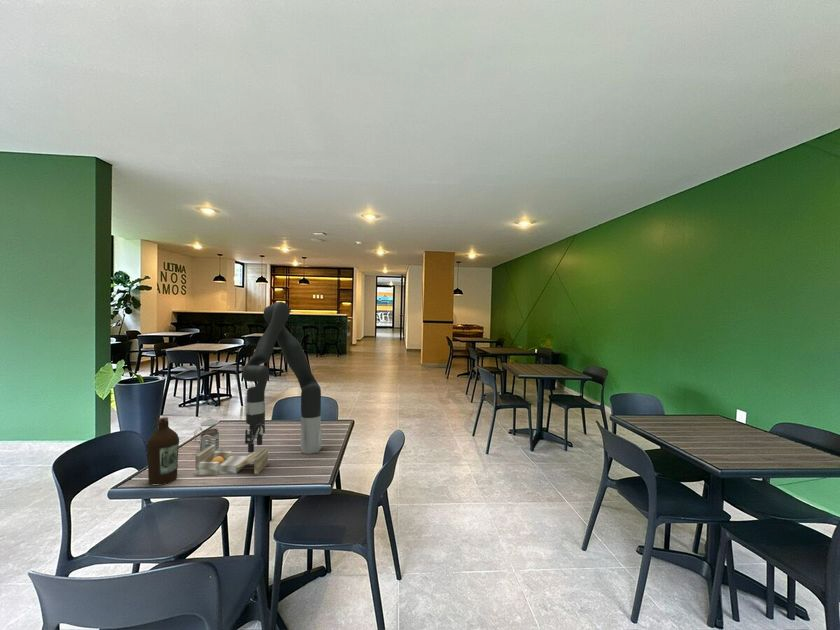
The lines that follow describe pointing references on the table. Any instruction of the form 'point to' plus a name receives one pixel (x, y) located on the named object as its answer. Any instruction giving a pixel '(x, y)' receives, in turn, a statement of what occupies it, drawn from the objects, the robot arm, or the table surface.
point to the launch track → (228, 462)
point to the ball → (218, 459)
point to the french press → (211, 432)
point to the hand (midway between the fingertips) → (255, 448)
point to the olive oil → (162, 454)
